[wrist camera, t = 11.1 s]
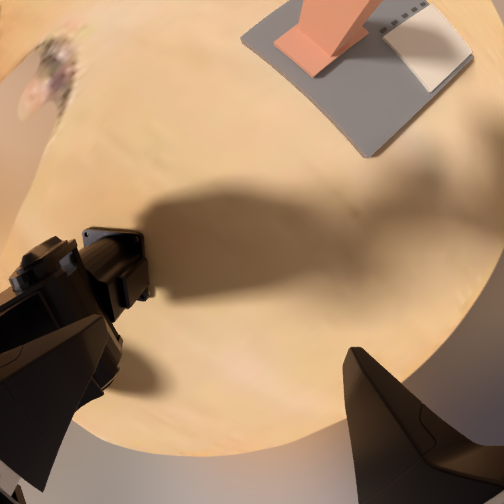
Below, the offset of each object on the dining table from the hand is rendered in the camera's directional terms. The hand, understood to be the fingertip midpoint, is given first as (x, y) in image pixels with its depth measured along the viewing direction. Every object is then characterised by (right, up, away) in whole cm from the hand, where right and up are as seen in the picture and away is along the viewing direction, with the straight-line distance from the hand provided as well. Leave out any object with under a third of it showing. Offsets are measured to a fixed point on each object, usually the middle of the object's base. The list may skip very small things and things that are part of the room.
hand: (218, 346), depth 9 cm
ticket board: (+10, +20, +6) cm, 23 cm away
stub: (+6, +18, +5) cm, 20 cm away
